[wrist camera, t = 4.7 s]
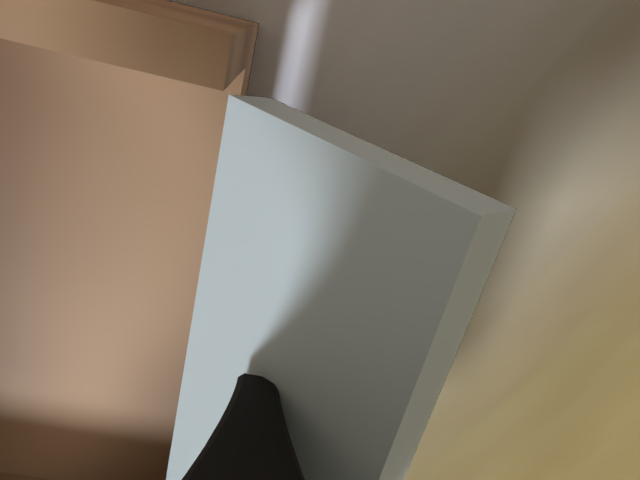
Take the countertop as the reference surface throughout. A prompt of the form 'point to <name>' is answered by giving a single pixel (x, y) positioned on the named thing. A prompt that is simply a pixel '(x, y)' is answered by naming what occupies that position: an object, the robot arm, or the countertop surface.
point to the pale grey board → (331, 290)
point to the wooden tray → (104, 224)
